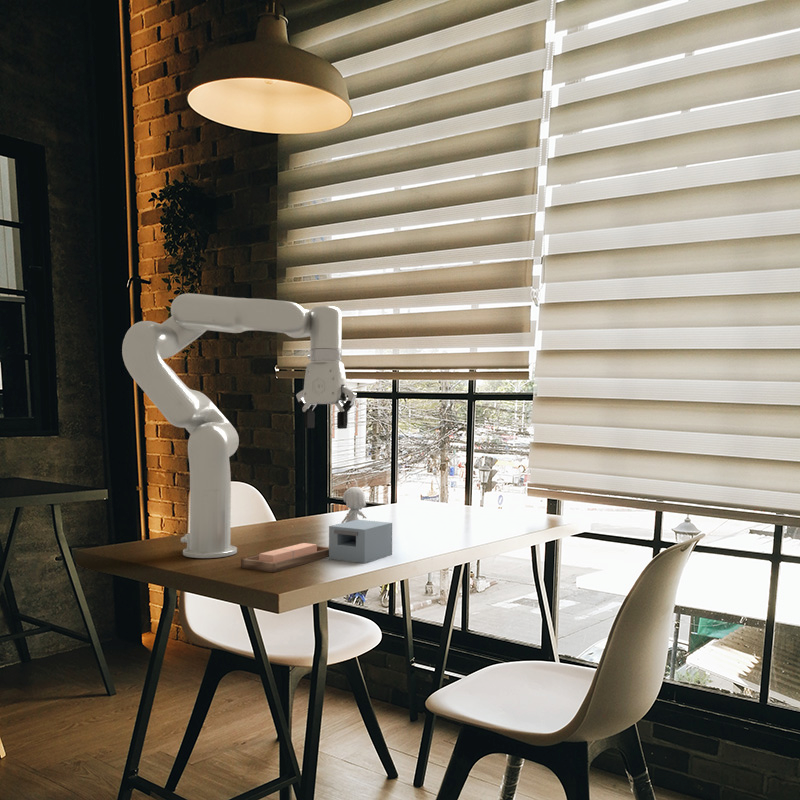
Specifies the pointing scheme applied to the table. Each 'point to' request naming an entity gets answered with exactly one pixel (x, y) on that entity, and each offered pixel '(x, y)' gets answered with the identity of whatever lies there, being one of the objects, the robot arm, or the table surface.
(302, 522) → the table surface
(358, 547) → the dispenser
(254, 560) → the tray
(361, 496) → the figurine
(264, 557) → the pink rectangular bar
